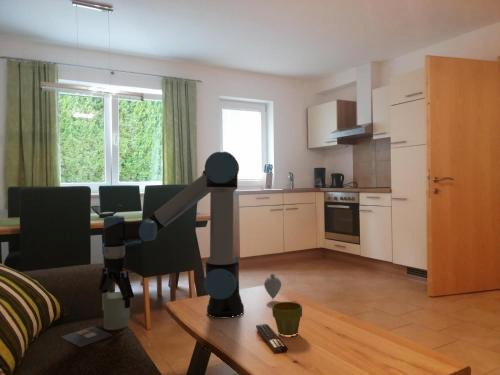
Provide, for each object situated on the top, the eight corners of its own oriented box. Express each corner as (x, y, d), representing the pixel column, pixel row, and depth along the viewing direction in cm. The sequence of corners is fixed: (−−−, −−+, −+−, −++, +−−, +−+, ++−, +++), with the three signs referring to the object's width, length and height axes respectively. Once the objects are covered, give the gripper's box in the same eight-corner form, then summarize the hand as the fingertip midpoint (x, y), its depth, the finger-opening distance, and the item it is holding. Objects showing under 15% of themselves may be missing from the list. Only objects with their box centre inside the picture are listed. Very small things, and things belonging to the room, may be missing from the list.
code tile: (113, 335, 132) (113, 334, 132) (80, 347, 123) (80, 346, 123) (93, 326, 141) (93, 326, 141) (60, 337, 132) (60, 336, 132)
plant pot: (267, 331, 133) (266, 304, 133) (291, 326, 137) (291, 299, 137) (283, 342, 123) (282, 312, 123) (308, 336, 128) (308, 307, 128)
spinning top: (276, 304, 163) (276, 276, 163) (261, 301, 167) (260, 274, 167) (284, 299, 170) (283, 272, 170) (269, 297, 174) (269, 271, 174)
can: (121, 330, 136) (120, 297, 136) (98, 329, 138) (97, 296, 138) (133, 321, 145) (133, 290, 145) (112, 320, 147) (111, 290, 147)
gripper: (88, 255, 147) (89, 309, 147) (124, 262, 131) (126, 322, 131) (106, 252, 153) (107, 304, 153) (142, 258, 137) (144, 316, 137)
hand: (116, 312), depth 142 cm, fingers open, 13 cm apart
